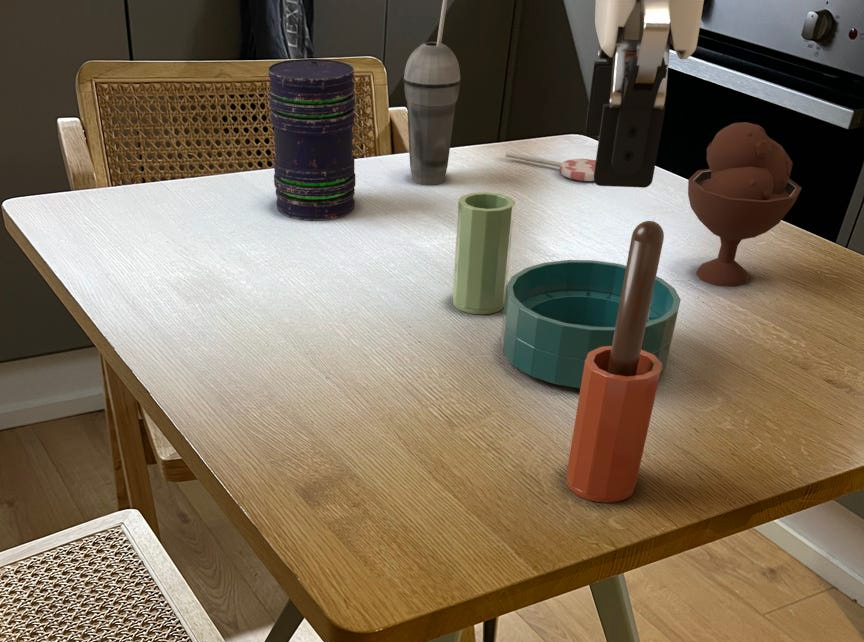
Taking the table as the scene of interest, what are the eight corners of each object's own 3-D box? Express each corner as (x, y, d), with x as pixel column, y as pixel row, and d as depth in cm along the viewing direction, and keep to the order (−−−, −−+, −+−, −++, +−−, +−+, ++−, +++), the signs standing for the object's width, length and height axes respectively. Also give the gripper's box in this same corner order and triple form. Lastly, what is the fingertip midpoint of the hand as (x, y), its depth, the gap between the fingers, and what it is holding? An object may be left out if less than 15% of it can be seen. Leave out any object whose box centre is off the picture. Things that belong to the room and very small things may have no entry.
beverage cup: (405, 168, 130) (409, -8, 117) (458, 172, 129) (469, -5, 116) (396, 186, 125) (399, 3, 111) (452, 189, 124) (462, 6, 111)
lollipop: (517, 144, 135) (618, 163, 129) (516, 152, 136) (616, 171, 130) (495, 156, 131) (598, 176, 125) (494, 164, 132) (597, 185, 126)
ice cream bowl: (739, 305, 99) (782, 146, 89) (649, 273, 105) (679, 120, 95) (794, 278, 104) (839, 125, 94) (705, 249, 110) (739, 102, 100)
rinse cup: (509, 297, 100) (519, 195, 93) (497, 317, 96) (507, 213, 89) (460, 290, 101) (467, 189, 94) (447, 310, 97) (453, 206, 90)
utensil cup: (638, 472, 75) (665, 351, 69) (629, 508, 72) (657, 384, 65) (572, 460, 76) (592, 340, 70) (560, 495, 73) (580, 372, 66)
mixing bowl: (673, 334, 94) (687, 272, 90) (655, 407, 83) (670, 341, 79) (520, 311, 97) (526, 251, 93) (483, 379, 86) (488, 314, 82)
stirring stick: (616, 473, 74) (668, 218, 61) (612, 487, 73) (664, 228, 60) (590, 468, 75) (636, 214, 62) (586, 482, 73) (632, 225, 60)
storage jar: (352, 222, 115) (350, 80, 105) (270, 219, 115) (260, 78, 105) (359, 194, 122) (358, 59, 112) (281, 191, 123) (274, 57, 113)
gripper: (792, -223, 39) (698, 211, 51) (727, -228, 52) (664, 120, 64) (606, -224, 40) (555, 205, 52) (587, -229, 53) (549, 116, 64)
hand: (615, 158), depth 58 cm, fingers open, 9 cm apart
